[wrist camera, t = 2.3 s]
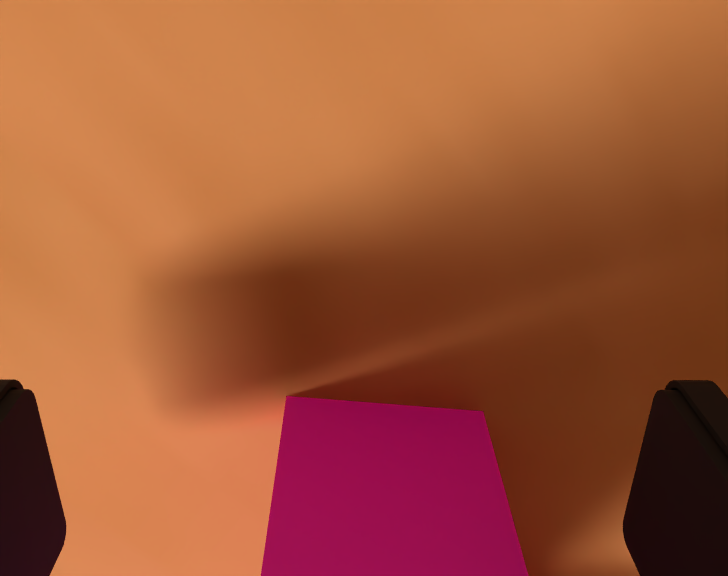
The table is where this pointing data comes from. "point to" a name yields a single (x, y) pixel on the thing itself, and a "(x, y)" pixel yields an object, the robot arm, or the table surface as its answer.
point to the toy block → (387, 494)
